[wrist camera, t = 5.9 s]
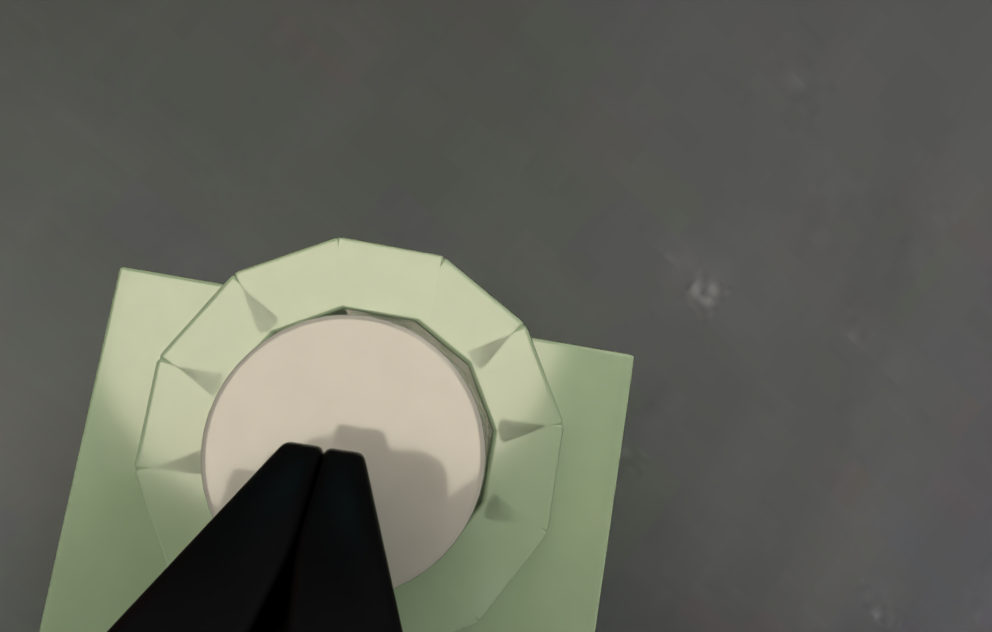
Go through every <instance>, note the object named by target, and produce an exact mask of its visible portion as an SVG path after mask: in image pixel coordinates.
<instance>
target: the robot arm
mask: <svg viewBox="0 0 992 632" xmlns="http://www.w3.org/2000/svg"><path fill="white" fill-rule="evenodd" d="M107 632H403V630H402V625H401V621H400V616H399V611H398V607H397V602H396V598H395V593H394V588H393V584H392V579H391V575H390V570H389V565H388V561H387V556H386V552H385V547H384V542H383V538H382V533H381V529H380V524H379V520H378V515H377V510H376V506H375V501H374V497H373V492H372V487H371V483H370V478H369V474H368V469H367V464H366V460H365V458H364V456H363V454H361V453H359V452H354V451H348V450H342V449H335V448H329V449H327V450H326V451H325V452H324V451H323V449H322V448H321V447H319V446H316V445H310V444H303V443H297V442H286V443H284V444H282V445H281V446H280V447H279V448H278V449H277V450H276V451H275V452H274V453H273V454H272V455H271V456H270V458H269V459H268V460H267V461H266V462H265V463H264V464H263V465H262V466H261V467H260V468H259V469H258V470H257V471H256V473H255V474H254V475H253V476H252V477H251V478H250V479H249V480H248V481H247V482H246V483H245V484H244V485H243V486H242V487H241V489H240V490H239V491H238V492H237V493H236V494H235V495H234V496H233V497H232V498H231V499H230V500H229V501H228V502H227V504H226V505H225V506H224V507H223V508H222V509H221V510H220V511H219V512H218V513H217V514H216V515H215V516H214V517H213V518H212V520H211V521H210V522H209V523H208V524H207V525H206V526H205V527H204V528H203V529H202V530H201V531H200V532H199V533H198V535H197V536H196V537H195V538H194V539H193V540H192V541H191V542H190V543H189V544H188V545H187V546H186V547H185V548H184V549H183V551H182V552H181V553H180V554H179V555H178V556H177V557H176V558H175V559H174V560H173V561H172V562H171V563H170V564H169V566H168V567H167V568H166V569H165V570H164V571H163V572H162V573H161V574H160V575H159V576H158V577H157V578H156V579H155V580H154V582H153V583H152V584H151V585H150V586H149V587H148V588H147V589H146V590H145V591H144V592H143V593H142V594H141V595H140V597H139V598H138V599H137V600H136V601H135V602H134V603H133V604H132V605H131V606H130V607H129V608H128V609H127V610H126V611H125V613H124V614H123V615H122V616H121V617H120V618H119V619H118V620H117V621H116V622H115V623H114V624H113V625H112V626H111V628H110V629H109V630H108V631H107Z"/></svg>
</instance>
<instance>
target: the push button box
mask: <svg viewBox="0 0 992 632" xmlns="http://www.w3.org/2000/svg"><path fill="white" fill-rule="evenodd" d="M331 315H362V316H371V317H375V318H380V319H384V320H388V321H391V322H393V323H396V324H399V325H401V326H404V327H406V328H408V329H410V330H412V331H414V332H416V333H417V334H419V335H421V336H423V337H424V338H425V339H427V340H428V341H429V342H431V343H432V344H434V345H435V346H436V347H437V348H438V349H439V350H441V351H442V352H443V353H444V354H445V355H446V356H447V357H448V358H449V359H450V360H451V362H452V363H453V364H454V365H455V366H456V368H457V369H458V370H459V371H460V373H461V374H462V376H463V377H464V379H465V381H466V382H467V384H468V386H469V387H470V389H471V391H472V394H473V396H474V398H475V400H476V403H477V405H478V408H479V412H480V415H481V418H482V422H483V428H484V434H485V444H486V463H485V473H484V479H483V484H482V488H481V492H480V496H479V498H478V501H477V504H476V507H475V509H474V512H473V514H472V516H471V518H470V520H469V522H468V523H467V525H466V527H465V529H464V530H463V532H462V533H461V535H460V536H459V538H458V539H457V540H456V542H455V543H454V545H453V546H452V547H451V548H450V549H449V550H448V551H447V552H446V553H445V555H444V556H443V557H442V558H441V559H440V560H438V561H437V562H436V563H435V564H434V565H433V566H431V567H430V568H429V569H428V570H427V571H425V572H423V573H422V574H420V575H419V576H417V577H416V578H414V579H413V580H411V581H409V582H407V583H405V584H403V585H401V586H399V587H397V588H395V589H394V593H395V598H396V602H397V607H398V611H399V616H400V621H401V625H402V630H403V632H595V631H596V624H597V617H598V610H599V603H600V596H601V589H602V582H603V575H604V568H605V561H606V554H607V547H608V540H609V533H610V526H611V519H612V512H613V505H614V498H615V491H616V483H617V476H618V469H619V462H620V455H621V448H622V441H623V434H624V427H625V420H626V413H627V406H628V399H629V392H630V385H631V378H632V371H633V364H634V357H633V356H632V355H631V354H625V353H619V352H614V351H608V350H602V349H596V348H591V347H585V346H579V345H573V344H567V343H562V342H556V341H550V340H544V339H539V338H533V337H531V336H530V333H529V330H528V328H527V327H526V326H524V324H523V322H522V320H520V319H519V318H518V317H517V316H516V315H514V314H513V313H512V312H511V311H510V310H508V309H507V308H506V307H505V306H504V305H502V304H501V303H500V302H499V301H498V300H496V299H495V298H494V297H493V296H492V295H490V294H489V293H488V292H487V291H485V290H484V289H483V288H482V287H481V286H479V285H478V284H477V283H476V282H475V281H473V280H472V279H471V278H470V277H469V276H467V275H466V274H465V273H464V272H463V271H461V270H460V269H459V268H458V267H457V266H455V265H454V264H453V263H452V262H451V261H449V260H448V259H444V257H443V256H442V255H437V254H431V253H425V252H420V251H414V250H409V249H403V248H398V247H392V246H387V245H381V244H376V243H370V242H365V241H359V240H353V239H348V238H342V237H340V238H338V239H337V238H333V239H330V240H328V241H325V242H322V243H319V244H316V245H313V246H310V247H307V248H304V249H301V250H298V251H295V252H293V253H290V254H287V255H284V256H281V257H278V258H275V259H272V260H269V261H266V262H263V263H260V264H258V265H255V266H252V267H249V268H246V269H243V270H240V271H237V272H236V273H235V274H234V275H233V276H231V277H229V279H228V280H227V281H226V282H225V283H224V284H221V283H215V282H209V281H204V280H198V279H192V278H186V277H181V276H175V275H169V274H163V273H157V272H152V271H146V270H140V269H134V268H129V267H121V268H120V270H119V274H118V278H117V283H116V287H115V292H114V296H113V301H112V305H111V310H110V314H109V319H108V323H107V328H106V332H105V337H104V341H103V346H102V350H101V355H100V359H99V364H98V368H97V373H96V377H95V382H94V386H93V391H92V395H91V400H90V404H89V409H88V413H87V418H86V422H85V427H84V431H83V436H82V440H81V445H80V449H79V454H78V458H77V463H76V467H75V472H74V476H73V481H72V485H71V490H70V494H69V499H68V503H67V508H66V512H65V517H64V521H63V526H62V530H61V535H60V539H59V544H58V549H57V553H56V558H55V562H54V567H53V571H52V576H51V580H50V585H49V589H48V594H47V598H46V603H45V607H44V612H43V616H42V621H41V625H40V630H39V632H107V631H108V630H109V629H110V628H111V626H112V625H113V624H114V623H115V622H116V621H117V620H118V619H119V618H120V617H121V616H122V615H123V614H124V613H125V611H126V610H127V609H128V608H129V607H130V606H131V605H132V604H133V603H134V602H135V601H136V600H137V599H138V598H139V597H140V595H141V594H142V593H143V592H144V591H145V590H146V589H147V588H148V587H149V586H150V585H151V584H152V583H153V582H154V580H155V579H156V578H157V577H158V576H159V575H160V574H161V573H162V572H163V571H164V570H165V569H166V568H167V567H168V566H169V564H170V563H171V562H172V561H173V560H174V559H175V558H176V557H177V556H178V555H179V554H180V553H181V552H182V551H183V549H184V548H185V547H186V546H187V545H188V544H189V543H190V542H191V541H192V540H193V539H194V538H195V537H196V536H197V535H198V533H199V532H200V531H201V530H202V529H203V528H204V527H205V526H206V525H207V524H208V523H209V522H210V521H211V520H212V518H213V517H212V515H211V512H210V510H209V508H208V505H207V501H206V497H205V494H204V490H203V484H202V476H201V445H202V438H203V431H204V428H205V424H206V420H207V417H208V413H209V411H210V408H211V406H212V404H213V401H214V399H215V397H216V395H217V393H218V391H219V390H220V388H221V386H222V384H223V383H224V381H225V379H226V378H227V377H228V375H229V374H230V373H231V372H232V370H233V369H234V368H235V366H236V365H237V364H238V363H239V362H240V361H241V360H242V359H243V358H244V357H245V356H246V355H247V354H248V353H249V352H250V351H251V350H252V349H254V348H255V347H256V346H258V345H259V344H260V343H261V342H263V341H264V340H265V339H267V338H269V337H271V336H272V335H274V334H276V333H277V332H279V331H281V330H283V329H285V328H287V327H290V326H292V325H294V324H297V323H299V322H303V321H307V320H310V319H314V318H318V317H324V316H331Z"/></svg>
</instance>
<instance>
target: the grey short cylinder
mask: <svg viewBox="0 0 992 632" xmlns="http://www.w3.org/2000/svg"><path fill="white" fill-rule="evenodd" d="M286 442H297V443H303V444H310V445H316V446H319V447H321V448H322V449H323V451H324V452H325V451H326V450H327V449H329V448H335V449H342V450H348V451H354V452H359V453H361V454H363V456H364V458H365V460H366V464H367V469H368V474H369V478H370V483H371V487H372V492H373V497H374V501H375V506H376V510H377V515H378V520H379V524H380V529H381V533H382V538H383V542H384V547H385V552H386V556H387V561H388V565H389V570H390V575H391V579H392V584H393V588H394V589H395V588H397V587H399V586H401V585H403V584H405V583H407V582H409V581H411V580H413V579H414V578H416V577H417V576H419V575H420V574H422V573H423V572H425V571H427V570H428V569H429V568H430V567H431V566H433V565H434V564H435V563H436V562H437V561H438V560H440V559H441V558H442V557H443V556H444V555H445V553H446V552H447V551H448V550H449V549H450V548H451V547H452V546H453V545H454V543H455V542H456V540H457V539H458V538H459V536H460V535H461V533H462V532H463V530H464V529H465V527H466V525H467V523H468V522H469V520H470V518H471V516H472V514H473V512H474V509H475V507H476V504H477V501H478V498H479V496H480V492H481V488H482V484H483V479H484V473H485V463H486V444H485V434H484V428H483V422H482V418H481V415H480V412H479V408H478V405H477V403H476V400H475V398H474V396H473V394H472V391H471V389H470V387H469V386H468V384H467V382H466V381H465V379H464V377H463V376H462V374H461V373H460V371H459V370H458V369H457V368H456V366H455V365H454V364H453V363H452V362H451V360H450V359H449V358H448V357H447V356H446V355H445V354H444V353H443V352H442V351H441V350H439V349H438V348H437V347H436V346H435V345H434V344H432V343H431V342H429V341H428V340H427V339H425V338H424V337H423V336H421V335H419V334H417V333H416V332H414V331H412V330H410V329H408V328H406V327H404V326H401V325H399V324H396V323H393V322H391V321H388V320H384V319H380V318H375V317H371V316H362V315H331V316H324V317H318V318H314V319H310V320H307V321H303V322H299V323H297V324H294V325H292V326H290V327H287V328H285V329H283V330H281V331H279V332H277V333H276V334H274V335H272V336H271V337H269V338H267V339H265V340H264V341H263V342H261V343H260V344H259V345H258V346H256V347H255V348H254V349H252V350H251V351H250V352H249V353H248V354H247V355H246V356H245V357H244V358H243V359H242V360H241V361H240V362H239V363H238V364H237V365H236V366H235V368H234V369H233V370H232V372H231V373H230V374H229V375H228V377H227V378H226V379H225V381H224V383H223V384H222V386H221V388H220V390H219V391H218V393H217V395H216V397H215V399H214V401H213V404H212V406H211V408H210V411H209V413H208V417H207V420H206V424H205V428H204V431H203V438H202V445H201V476H202V484H203V490H204V494H205V497H206V501H207V505H208V508H209V510H210V512H211V515H212V517H214V516H215V515H216V514H217V513H218V512H219V511H220V510H221V509H222V508H223V507H224V506H225V505H226V504H227V502H228V501H229V500H230V499H231V498H232V497H233V496H234V495H235V494H236V493H237V492H238V491H239V490H240V489H241V487H242V486H243V485H244V484H245V483H246V482H247V481H248V480H249V479H250V478H251V477H252V476H253V475H254V474H255V473H256V471H257V470H258V469H259V468H260V467H261V466H262V465H263V464H264V463H265V462H266V461H267V460H268V459H269V458H270V456H271V455H272V454H273V453H274V452H275V451H276V450H277V449H278V448H279V447H280V446H281V445H282V444H284V443H286Z"/></svg>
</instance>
